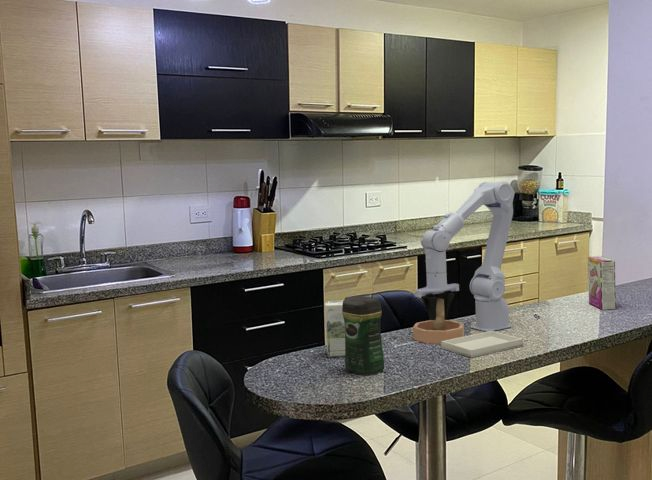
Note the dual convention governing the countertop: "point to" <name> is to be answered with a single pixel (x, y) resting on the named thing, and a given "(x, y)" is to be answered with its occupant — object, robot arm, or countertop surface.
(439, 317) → the wooden pin
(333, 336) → the syrup box
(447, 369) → the countertop surface
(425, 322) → the octagonal open frame
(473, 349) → the cream tray
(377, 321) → the coffee jar
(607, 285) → the candy bar box
